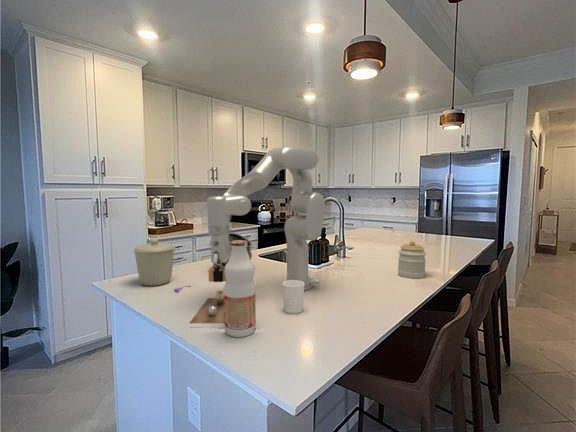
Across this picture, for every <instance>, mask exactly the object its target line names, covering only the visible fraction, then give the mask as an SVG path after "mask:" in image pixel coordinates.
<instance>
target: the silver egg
mask: <svg viewBox="0 0 576 432" xmlns="http://www.w3.org/2000/svg"><path fill="white" fill-rule="evenodd" d="M215 316H217V310H216V306H209V317H215Z"/></svg>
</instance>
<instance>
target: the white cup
mask: <svg viewBox="0 0 576 432" xmlns="http://www.w3.org/2000/svg"><path fill="white" fill-rule="evenodd" d="M304 299H305V291H304V282H302V281H298V280H288V281H287V280H284V281H283V282H282V300H283V311H284V312H285V313H288V314H300V313H302V312H303V309H304Z"/></svg>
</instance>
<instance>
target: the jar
mask: <svg viewBox="0 0 576 432" xmlns="http://www.w3.org/2000/svg"><path fill="white" fill-rule="evenodd" d="M424 250H425V247H423V246H422V245H420V244H416V242H415V241H414V240H410V241H409V243H405V244H402V245H401V246H400V249H399V250H398V254H399V256H398V258H397V259H398V261H397V262H398V264H397V265H398V267H397V275H399V276H400V277H402V278H407V279H423V278H425V275H426V257H425V256H426V255H427V253H426V252H425V251H424Z"/></svg>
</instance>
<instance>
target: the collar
mask: <svg viewBox="0 0 576 432" xmlns="http://www.w3.org/2000/svg"><path fill="white" fill-rule="evenodd" d="M225 266H226V265H225ZM225 266H222V271H223V281H222V282H226V277H225V273H224V270H225ZM219 267H220V266H219ZM207 274H208V282H209V283H212V282H213V283H215V282H214V278H213V265H212V266H211V267H210V268H209V269H208V273H207Z"/></svg>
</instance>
